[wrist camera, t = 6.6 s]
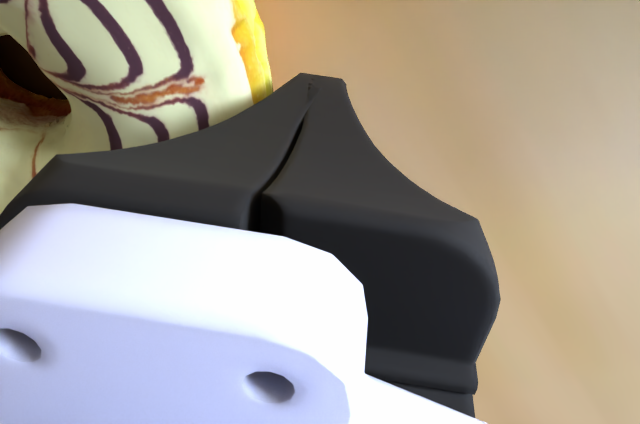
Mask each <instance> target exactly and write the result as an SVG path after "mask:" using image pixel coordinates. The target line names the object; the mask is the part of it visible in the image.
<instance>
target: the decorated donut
mask: <svg viewBox="0 0 640 424" xmlns="http://www.w3.org/2000/svg"><path fill="white" fill-rule="evenodd" d="M2 35H11V36H12V37H13V38H14V39H15V40H16V41H17V42H18V43H19V44H20V45H22V46H23V47H24V48H25V49H26V50H27V51H28V52H29V54H30V55H31V57H32V58H33V59H34V61H35V62H36V64H37V65H38V67H39V68H40V69H41V71H42V72H43V73H44V74H45V75H46V76H47V77H48V78H49V79H50V80H51V81H52V82H53V83H54V84H55V85H56V86H57V87H58V88H59V89H60V90H61V91H62V92H63V94H64V95H65V96H66V97H67V98H68V100H62V99H61V100H58V99H55V98H51V99H50V98H46V97H45V96H43V95H37V94H34V93H32V92H30V91H28V90H26V89H24V88H22V87H20V86H18V85H17V84H15V83H14V82H12V81H11V80H10V79H9V78H8V77H7V76H6V75H5V74H4V73H3V71H2V70H1V68H0V214H1V213H2V212H3V210H4V209H5V207H6V206H7V205H8V204H9V203H10V202H11V201H12V200H13V198H14V197H15V196H16V195H17V194H18V193H19V192H20V191H21V190H22V189H23V188H24V187H25V186H26V185H27V184H28V183H29V182H30V181H31V180H32V179H33V178H34V177H35V175H36V174H37V173H38V172H39V171H40V170H41V169H42V168H43V167H44V166H45V165H46V164H47V163H48V162H49V161H50V160H51V159H52V158H53V157H54V156H55V155H56V154H73V153H85V152H97V151H109V150H117V149H124V148H130V147H137V146H143V145H148V144H152V143H157V142H162V141H166V140H169V139H173V138H176V137H180V136H183V135H186V134H190V133H193V132H197V131H200V130H202V129H205V128H208V127H210V126H213V125H215V124H218V123H220V122H222V121H225V120H227V119H229V118H231V117H233V116H235V115H237V114H239V113H240V112H242V111H244V110H246V109H247V108H249V107H251V106H253V105H254V104H256V103H258V102H260V101H261V100H263V99H264V98H266V97H267V96H269V95H270V94H272V93H273V87H272V79H271V72H270V67H269V63H268V57H267V50H266V39H265V29H264V25H263V23H262V21H261V20H260V17H259V14H258V12H257V10H256V5H255V2H254V0H0V36H2Z"/></svg>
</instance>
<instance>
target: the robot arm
mask: <svg viewBox="0 0 640 424" xmlns="http://www.w3.org/2000/svg"><path fill="white" fill-rule="evenodd" d="M499 304H500V293H499V284H498V277H497V272H496V268H495V264H494V260H493V257H492V255H491V252H490V249H489V246H488V243H487V241H486V238H485V236H484V233H483V231H482V228H481V226H480V223H479V221H478V219H476V218H474V217H472V216H470V215H468V214H466V213H464V212H462V211H460V210H458V209H456V208H454V207H452V206H450V205H448V204H446V203H444V202H442V201H440V200H439V199H437V198H435V197H434V196H432V195H431V194H429V193H428V192H426V191H425V190H423V189H421V188H420V187H419V186H417V185H416V184H415V183H413V182H412V181H410V180H409V179H408V178H407V177H406V176H404V175H403V174H402V173H401V172H400V171H399V170H397V169H396V168H395V167H394V166H393V165H392V164H391V163H390V162H389V161H388V160H387V159H386V158H385V157H384V156H383V155H382V154H381V152H380V151H379V150H378V149H377V148H376V147H375V145H374V144H373V142H372V141H371V140H370V138H369V136H368V135H367V133H366V132H365V130H364V128H363V127H362V125H361V123H360V121H359V119H358V117H357V115H356V113H355V111H354V109H353V107H352V105H351V102H350V99H349V96H348V93H347V89H346V84H345V82H344V81H343V80H342V79H339V78H333V77H326V76H319V75H312V74H305V73H300V74H298V75H297V76H295V77H294V78H293V79H291V80H290V81H288V82H287V83H286V84H284V85H283V86H282V87H280V88H279V89H277V90H276V91H275V92H273V93H272V94H270V95H269V96H267V97H266V98H264V99H263V100H261V101H260V102H258V103H256V104H254V105H253V106H251V107H249V108H247V109H246V110H244V111H242V112H240V113H239V114H237V115H235V116H233V117H231V118H229V119H227V120H225V121H222V122H220V123H218V124H215V125H213V126H210V127H208V128H205V129H202V130H200V131H197V132H193V133H190V134H186V135H183V136H180V137H176V138H173V139H169V140H166V141H162V142H157V143H152V144H148V145H143V146H137V147H130V148H124V149H117V150H109V151H97V152H85V153H73V154H56V155H55V156H54V157H53V158H52V159H51V160H50V161H49V162H48V163H47V164H46V165H45V166H44V167H43V168H42V169H41V170H40V171H39V172H38V173H37V174H36V175H35V177H34V178H33V179H32V180H31V181H30V182H29V183H28V184H27V185H26V186H25V187H24V188H23V189H22V190H21V191H20V192H19V193H18V194H17V195H16V196H15V197H14V198H13V200H12V201H11V202H10V203H9V204H8V205H7V206H6V207H5V209H4V210H3V212H2V213H1V214H0V424H488V423H485V422H483V421H480V420H478V419H476V418H475V413H474V404H473V396H472V394H474V395H475V393H476V391H477V386H478V379H477V371H476V363H475V362H476V360H477V358H478V356H479V354H480V352H481V349H482V347H483V345H484V343H485V341H486V338H487V336H488V334H489V332H490V330H491V328H492V325H493V323H494V321H495V319H496V316H497V312H498V308H499Z"/></svg>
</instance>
